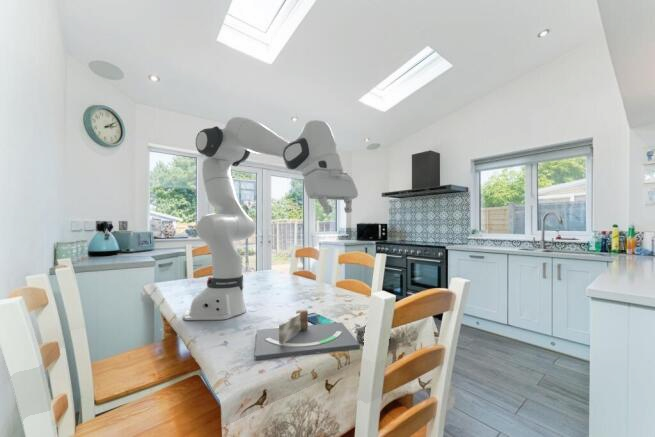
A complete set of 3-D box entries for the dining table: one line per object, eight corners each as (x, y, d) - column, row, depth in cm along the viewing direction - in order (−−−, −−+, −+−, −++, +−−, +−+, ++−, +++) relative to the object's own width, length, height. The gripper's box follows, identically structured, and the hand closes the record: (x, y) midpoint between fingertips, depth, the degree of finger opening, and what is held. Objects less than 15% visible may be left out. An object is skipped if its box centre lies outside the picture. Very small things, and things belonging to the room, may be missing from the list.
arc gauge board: (255, 359, 70) (255, 354, 70) (257, 333, 87) (257, 329, 87) (359, 348, 76) (359, 343, 76) (341, 325, 93) (341, 321, 94)
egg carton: (371, 349, 76) (371, 334, 76) (352, 340, 81) (351, 327, 82) (394, 338, 83) (394, 325, 83) (375, 331, 88) (375, 318, 88)
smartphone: (314, 312, 107) (338, 322, 95) (314, 314, 107) (338, 325, 95) (298, 315, 103) (321, 327, 91) (298, 318, 103) (321, 329, 91)
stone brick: (299, 324, 90) (299, 309, 90) (309, 326, 88) (309, 310, 89) (274, 342, 76) (274, 324, 76) (286, 344, 75) (286, 326, 75)
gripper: (341, 176, 94) (352, 215, 91) (296, 170, 79) (307, 216, 76) (355, 169, 90) (367, 209, 87) (311, 161, 75) (323, 209, 72)
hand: (339, 212), depth 82 cm, fingers open, 8 cm apart
